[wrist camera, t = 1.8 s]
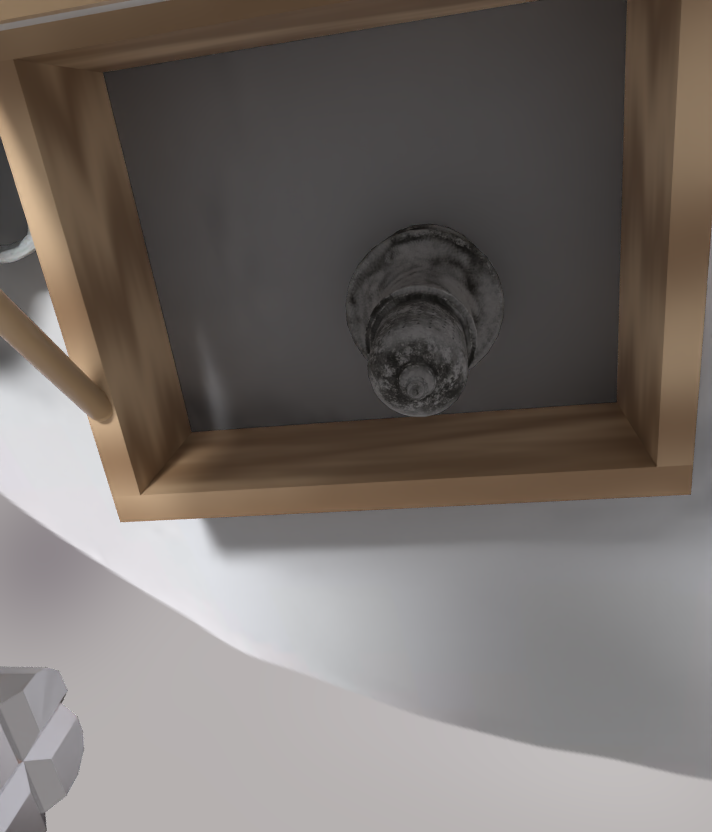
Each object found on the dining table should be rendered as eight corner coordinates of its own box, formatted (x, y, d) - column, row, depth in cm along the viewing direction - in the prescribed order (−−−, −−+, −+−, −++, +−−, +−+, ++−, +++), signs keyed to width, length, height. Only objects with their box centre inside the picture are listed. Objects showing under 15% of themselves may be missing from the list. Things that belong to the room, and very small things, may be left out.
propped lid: (-29, 9, 21) (-945, -212, 7) (731, -134, 17) (1855, -1133, 4) (95, 416, 26) (-287, 739, 12) (694, 370, 23) (1081, 751, 9)
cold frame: (65, 42, 26) (-36, 21, 20) (665, -62, 22) (738, -123, 17) (173, 455, 33) (120, 522, 27) (644, 425, 29) (690, 494, 24)
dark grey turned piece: (407, 186, 26) (382, 231, 16) (526, 269, 27) (582, 367, 16) (330, 306, 29) (262, 417, 18) (442, 379, 30) (441, 529, 19)
